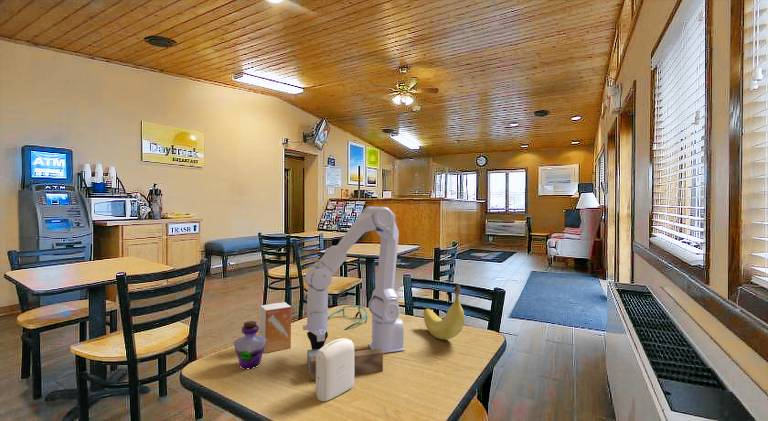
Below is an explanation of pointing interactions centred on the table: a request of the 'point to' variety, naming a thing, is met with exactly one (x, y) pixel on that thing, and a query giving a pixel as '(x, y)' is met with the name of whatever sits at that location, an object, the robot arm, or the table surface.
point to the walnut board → (358, 362)
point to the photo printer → (334, 369)
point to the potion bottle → (250, 346)
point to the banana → (446, 320)
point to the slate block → (311, 353)
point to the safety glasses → (355, 315)
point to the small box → (276, 326)
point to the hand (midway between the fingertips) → (317, 357)
